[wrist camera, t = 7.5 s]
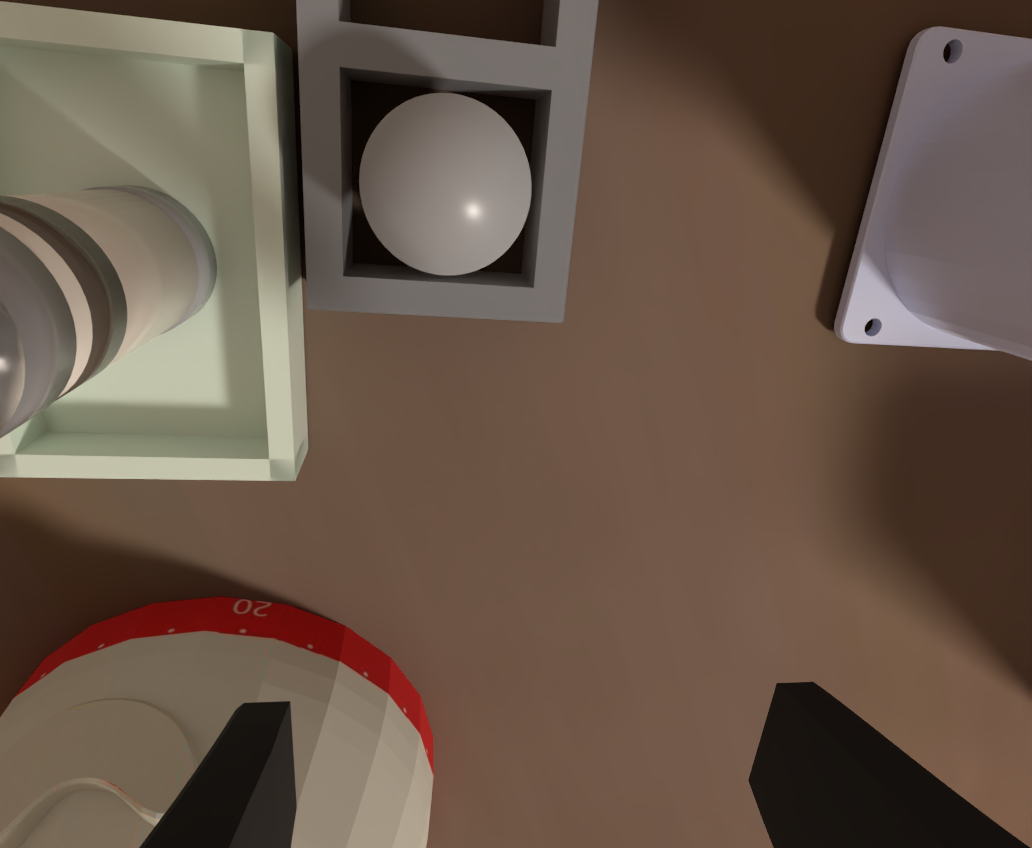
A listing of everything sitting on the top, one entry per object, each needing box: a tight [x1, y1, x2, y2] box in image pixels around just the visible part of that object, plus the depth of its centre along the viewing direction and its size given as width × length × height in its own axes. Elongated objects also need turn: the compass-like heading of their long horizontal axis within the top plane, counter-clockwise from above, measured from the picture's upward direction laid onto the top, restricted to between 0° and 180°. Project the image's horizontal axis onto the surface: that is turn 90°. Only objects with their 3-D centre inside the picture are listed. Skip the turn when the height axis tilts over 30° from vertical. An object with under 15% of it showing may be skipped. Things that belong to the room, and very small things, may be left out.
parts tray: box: [0, 1, 308, 481], centre depth 15 cm, size 7×10×2 cm
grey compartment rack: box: [296, 0, 599, 323], centre depth 13 cm, size 6×11×4 cm, turn 175°
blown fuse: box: [0, 185, 217, 438], centre depth 12 cm, size 3×3×8 cm
